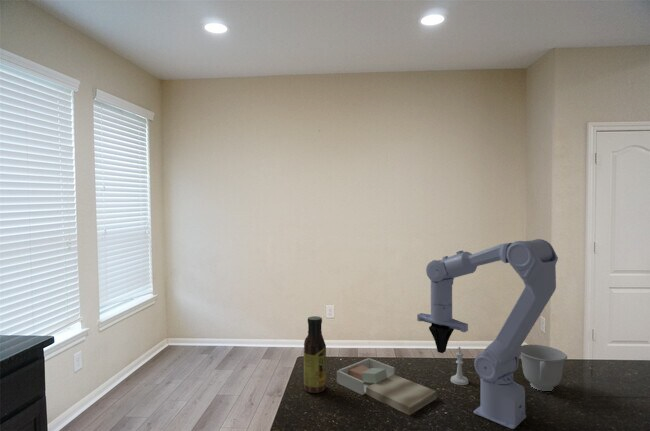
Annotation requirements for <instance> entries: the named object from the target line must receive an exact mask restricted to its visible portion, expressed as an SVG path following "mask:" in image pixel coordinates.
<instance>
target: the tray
mask: <svg viewBox="0 0 650 431" xmlns="http://www.w3.org/2000/svg"><path fill="white" fill-rule="evenodd" d="M358 365H362V366H365V367H367V368H370V369H371V368H381V369H386V373H387V377H389V376H391V375H393V374H394V375H395V367H393V366H392V365H389V364H386V363H383V362H381V361H378V360H375V359H373V358H370V357H367V358H365V359H362V360H360V361H358V362H355V363H353V364H350V365H348V366H345V367H343V368H340V369H338V370H336V384H338V385H341V386H342V387H345V388H347V389H348V390H350V391H353V392H355V393H357V394H359V395H361V396H364V395H365V394H366V387H368V386H370V385H372V384H374V383H368V382H363V381H361V380H359V379H357V378H355V377H352V376H350V375H349V369H351V368H353V367H356V366H358Z"/></svg>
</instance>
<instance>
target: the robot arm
mask: <svg viewBox="0 0 650 431" xmlns="http://www.w3.org/2000/svg"><path fill="white" fill-rule="evenodd" d="M558 260H559V257H558V255H557V253H556V251H555V249H554V247H553V245H552V244H551V243H550V242H549V241H547V240H545V239H541V238H540V239H539V238H537V239H533V240H532V239H531V240H525V241H524V240H516V241H513V242H507V243H501V244H497V245H495V246H493V247H488V248H486V249H483V250H481V251H478V252H475V253H471V252H469V251H464V250H459V251H458V250H457V251H456V252H455V255H452V256H448V255H445V256H442V259H438V260H437V259H434V260H432V261H430V262H429V263H428V264H427V265H426V270H425V271H426V275H427V277H428V279H429V280H430V314H428V313H422V312H421V313H417V316H416V317H417V319H416V320H417V322H424V323H428V324H430V326H429V327H428V330H429V332H430V334H431V335H432V338H433V341H434V342H435V347H436V351H437V353H440V354H444V353H446V350H447V348H448V347H447V346H448V343H449V339H450V337H451V335H452V333H453V332H454V330H456V331H460V332H462V333H466V332H468V331H469V324H468V323H465V322H463V321H460V320H457V319H455V318H453V285H454V280H455V278H459V277H462V276H463V277H464V276H466V275H469V274H473V273H475V272H476V270H477V268H478V267H479V266H483V265H487V264H492V263H495V262H499V261H501V262H503V263H504V264H508V263H509V265H510V266H511V267H512V269H513V270H514V271H515V272H516V273H517V275H518V276H519V278H520V279H521V280H522V281H523V283H524V288H523V290H522V292H521V294H520V296H519V297H518V298H517V301H516V303H515V304H514V306H513V308H512V310H511V311H510V313H509V314H508V317H507V318H506V320H505V322H504V324H503V326H502V327H501V329H500V331H499V332H498V334H497V335H496V338H495V339H494V340H493V341H492V342H491V343H490V344H489V345H487V347H485V349H484V351H483V352H482V353H481V352H480V353H479V354H477V355H476V356H475V358H474V361H473V362H474V364H473V365H474V369H475V372H476V373H477V375H478V377H479V379H480V383H479V384H480V387H479V388H480V393H479V394H480V396H479V397H480V405H479V406H478V407H476V409H474V410H473V414H474V415H477V416H480V417H482V418H484V419H487V420H489V421H492V422H494V423H497V424H499V425H501V426H503V427H506V428H508V429H510V430H514V429H516V428H517V427H518V426H519V425H520V424H521V423H522V422H523V421H524V420H525V419H526V418H527V414H526V390H525V387H524V386H523V385H521V384H519V383H517V382H516V381H514V372H516V370H518V367H519V363H520V362H519V358H520V357H521V351H520V350H519V348H520V347H521V346H523V344H524V342H525V340H526V339H527V338H528V335H529V334H530V332H531V330H532V329H533V327H534V326H535V323H536V322H537V320H538V319H539V317H540V316H541V314H542V312H543V311H544V310H545V308H546V306H547V304H548V302H549V301H550V300H551V298H552V296H553V294H554V293H555V291H556V289H557V276H556V274H557V271H556V268H557V267H556V265H557V262H558Z"/></svg>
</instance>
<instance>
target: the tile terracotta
mask: <svg viewBox="0 0 650 431" xmlns="http://www.w3.org/2000/svg"><path fill="white" fill-rule="evenodd" d="M369 369H370V368H367V367H365V366H362V365H358V366H356V367H353V368H351V369H349V375H350V376H352V377H355V378H357V379H359V380H361V381H363V379H362V372H364V371H366V370H369Z"/></svg>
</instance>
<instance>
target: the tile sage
mask: <svg viewBox="0 0 650 431" xmlns="http://www.w3.org/2000/svg"><path fill="white" fill-rule="evenodd" d="M386 378H387V373H386V369H381V368H371V369H369V370H366V371H364V372H362V379H363V382H368V383H378V382H380V381H382V380H384V379H386Z"/></svg>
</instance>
